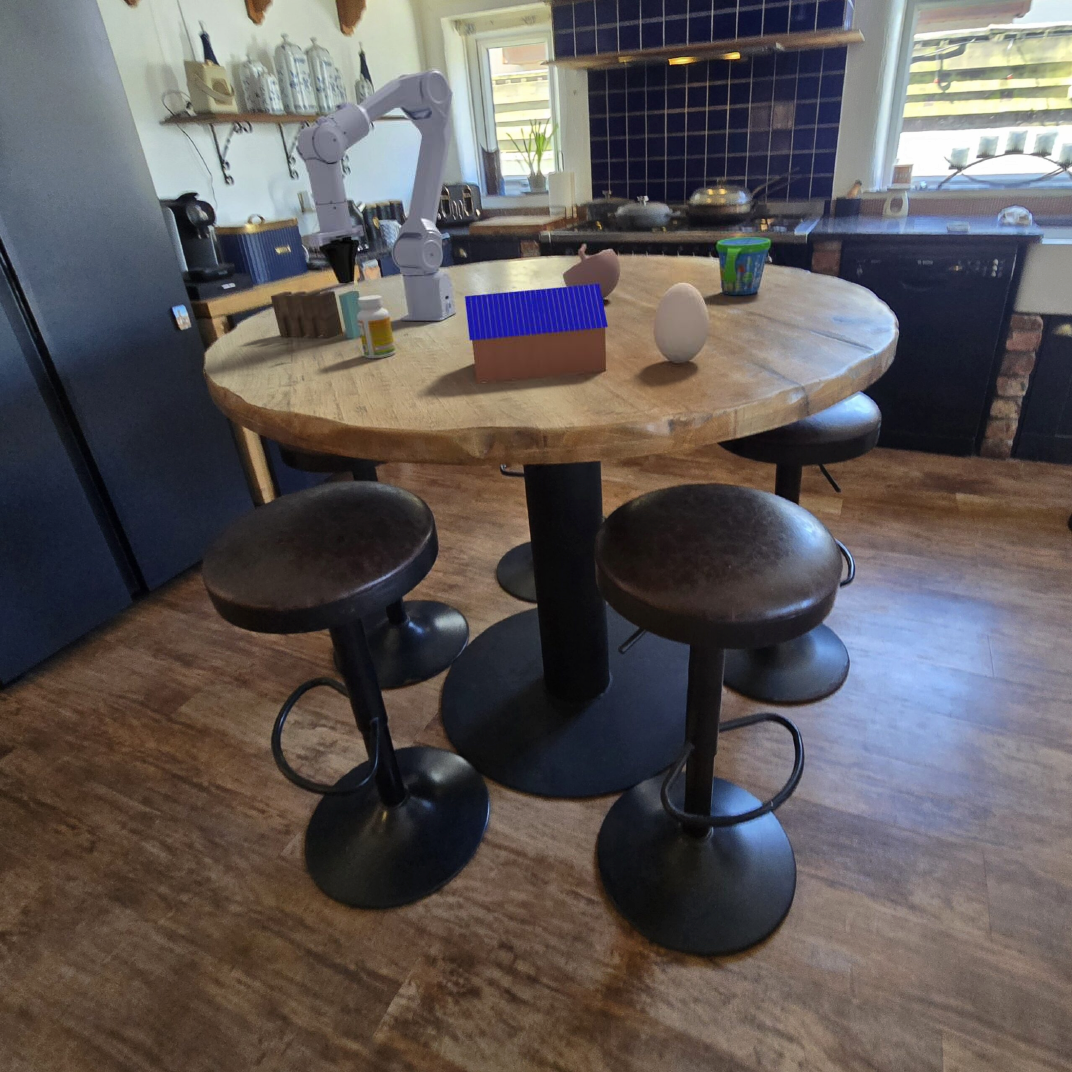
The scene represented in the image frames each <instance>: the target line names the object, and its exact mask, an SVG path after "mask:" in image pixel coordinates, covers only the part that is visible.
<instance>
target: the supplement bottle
mask: <svg viewBox="0 0 1072 1072" xmlns="http://www.w3.org/2000/svg"><path fill="white" fill-rule="evenodd" d="M358 303H359V307H360V308H361V311H360V312H359V313H358V314H357V320H358V325H359V330H360V335H361V336H360V340H361V345H362V350H363V354H364V356H365V358H367V359H373V360H375V359H384V358H388V357H391V356H393V355H394V354H395V353H396V347H395V342H394V336H393V331H392V324H391V320H390V319H391V318H390V313H389V311H388V310H387V309H386V308H383V305H384V301H383V297H382V295H380V294H379V295H376V294H375V295H374V294H372V295H365V296H359V298H358Z"/></svg>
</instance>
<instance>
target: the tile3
mask: <svg viewBox="0 0 1072 1072" xmlns="http://www.w3.org/2000/svg"><path fill="white" fill-rule="evenodd" d="M318 294H321V291H320V290H318V291H317V290H316V291H315V290H312V291H310V292H306V294H304V295H301V296H300V301H301V305H302V309H303V314H304V318H305V322H306V327H307V331H308V335H307V336H308V338H310V339H316V338H319V337H322V336H323V334H322V329H321V324H320V320H319V315H318V311H317V306H316V302H315V297H314V296H315V295H318ZM321 335H322V336H321Z"/></svg>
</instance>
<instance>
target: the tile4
mask: <svg viewBox="0 0 1072 1072" xmlns="http://www.w3.org/2000/svg"><path fill="white" fill-rule="evenodd" d="M304 294H307V292H306V291H305V290H304V291H297V292H292V294H290V295H286V296H285V298H286V303H287V307H288V311H289V315H290V319H291V323H292V328H293V332H294V335H293V336H294V338H295V337H296V338H297V337H298V338H304V337H307V336H309V335H308V331H307V327H306V322H305V318H304V314H303V309H302V305H301V301H300V296H301V295H304ZM306 335H307V336H306ZM296 338H295V339H296Z"/></svg>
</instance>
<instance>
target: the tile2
mask: <svg viewBox="0 0 1072 1072" xmlns="http://www.w3.org/2000/svg"><path fill="white" fill-rule="evenodd" d="M314 297H315V302H316V306H317V311H318V315H319V320H320V324H321V329H322V334H323V335H322V337H323V339H332V338H334V337H336V336H339V335H340V334H343V332H344V331H343V327H342V321H341V316H340V313H339V307H338V301H337V298H336V291H335V290H333V291H332V290H331V291H330V290H328V291H325V292H324V291H323V292H322V293H321V292H320V294H318V295H315V296H314Z"/></svg>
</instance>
